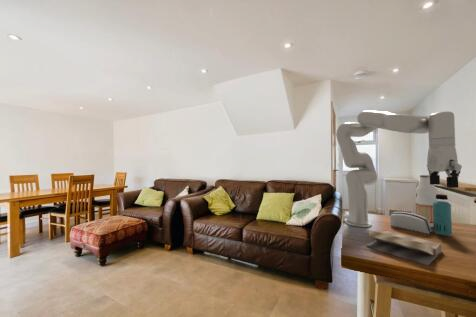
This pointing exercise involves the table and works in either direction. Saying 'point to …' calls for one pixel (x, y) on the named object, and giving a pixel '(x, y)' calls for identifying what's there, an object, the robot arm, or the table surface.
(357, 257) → the table surface
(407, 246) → the birch plank
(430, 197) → the fruit juice
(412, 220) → the white toaster
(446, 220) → the beverage bottle
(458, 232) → the table surface
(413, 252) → the floor panel
